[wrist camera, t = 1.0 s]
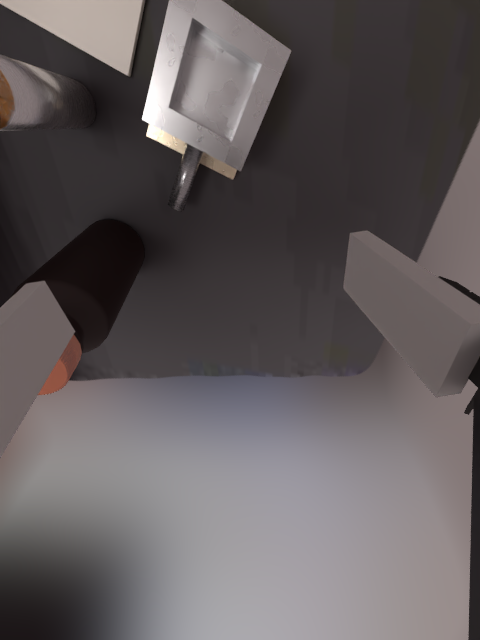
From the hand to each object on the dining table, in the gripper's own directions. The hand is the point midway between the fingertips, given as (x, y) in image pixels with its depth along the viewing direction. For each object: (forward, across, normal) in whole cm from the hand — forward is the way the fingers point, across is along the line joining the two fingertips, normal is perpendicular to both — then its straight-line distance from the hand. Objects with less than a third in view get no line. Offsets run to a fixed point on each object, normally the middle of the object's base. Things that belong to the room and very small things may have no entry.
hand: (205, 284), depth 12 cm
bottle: (+22, -11, -5) cm, 25 cm away
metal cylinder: (+22, -10, +8) cm, 26 cm away
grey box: (+22, +1, +6) cm, 23 cm away
